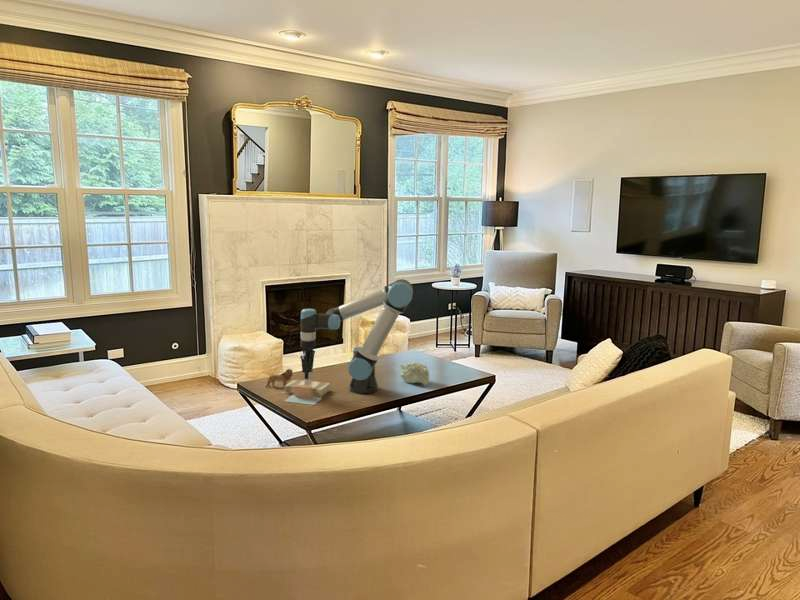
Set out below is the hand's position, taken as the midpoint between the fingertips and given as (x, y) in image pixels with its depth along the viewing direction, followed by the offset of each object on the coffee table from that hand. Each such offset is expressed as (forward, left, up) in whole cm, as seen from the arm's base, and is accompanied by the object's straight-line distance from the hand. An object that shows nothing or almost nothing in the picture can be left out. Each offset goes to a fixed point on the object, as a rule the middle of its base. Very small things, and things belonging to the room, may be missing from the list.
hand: (307, 384), depth 296 cm
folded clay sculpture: (-47, -38, -6) cm, 61 cm away
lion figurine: (+19, -8, -6) cm, 22 cm away
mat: (-1, +8, -6) cm, 10 cm away
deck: (+2, -4, -6) cm, 7 cm away
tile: (0, +4, -2) cm, 5 cm away
